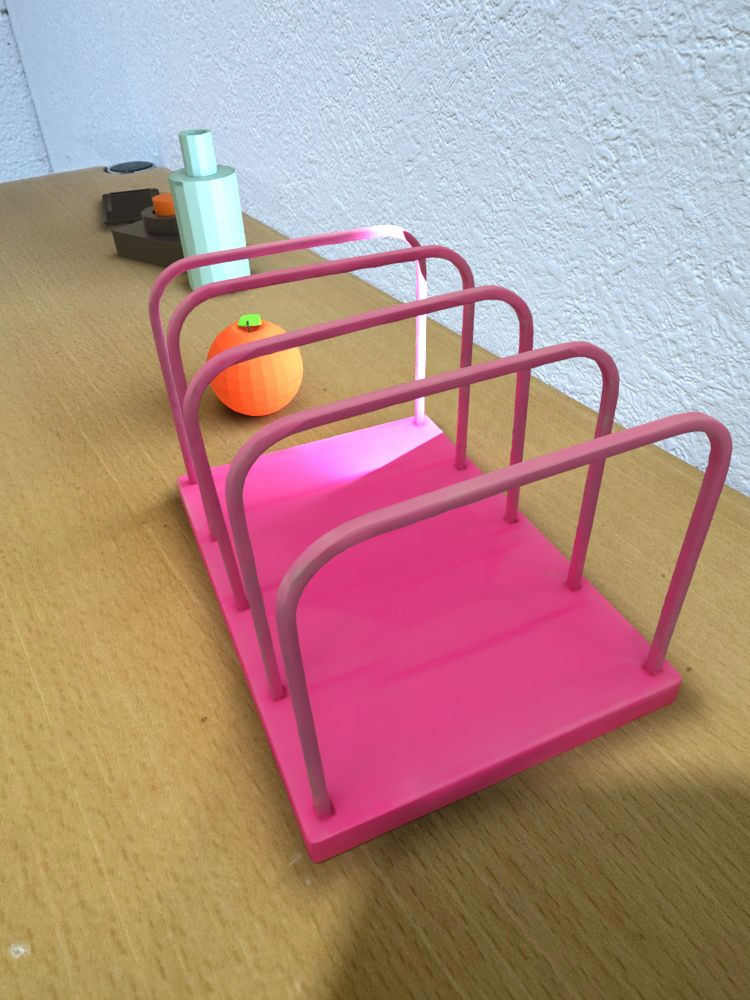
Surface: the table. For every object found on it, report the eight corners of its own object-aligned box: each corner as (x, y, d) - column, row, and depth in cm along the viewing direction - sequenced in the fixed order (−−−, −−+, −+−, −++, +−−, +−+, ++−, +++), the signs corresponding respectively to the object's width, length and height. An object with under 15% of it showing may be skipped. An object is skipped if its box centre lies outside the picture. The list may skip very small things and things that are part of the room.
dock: (118, 258, 81) (106, 214, 78) (174, 236, 86) (166, 194, 83) (186, 274, 76) (177, 227, 73) (241, 250, 82) (234, 205, 78)
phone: (157, 187, 101) (165, 215, 89) (159, 195, 101) (167, 224, 90) (101, 193, 99) (101, 222, 88) (103, 202, 100) (104, 231, 88)
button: (148, 215, 78) (145, 199, 77) (172, 207, 80) (169, 191, 79) (171, 220, 76) (168, 203, 75) (194, 211, 79) (191, 194, 78)
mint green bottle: (178, 290, 72) (145, 135, 63) (219, 270, 76) (194, 123, 67) (223, 301, 69) (195, 141, 61) (263, 280, 74) (243, 128, 65)
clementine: (220, 383, 56) (204, 299, 52) (306, 377, 56) (297, 292, 52) (211, 437, 50) (191, 346, 45) (307, 430, 50) (297, 338, 46)
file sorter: (313, 871, 26) (254, 566, 16) (180, 499, 44) (115, 251, 34) (677, 704, 31) (798, 397, 21) (424, 433, 49) (428, 201, 40)
